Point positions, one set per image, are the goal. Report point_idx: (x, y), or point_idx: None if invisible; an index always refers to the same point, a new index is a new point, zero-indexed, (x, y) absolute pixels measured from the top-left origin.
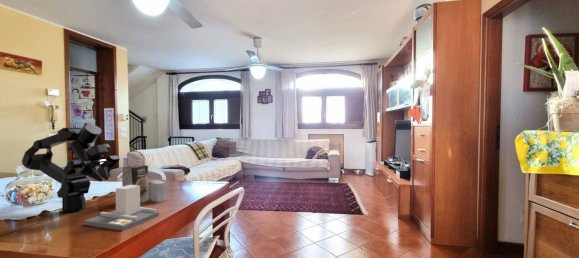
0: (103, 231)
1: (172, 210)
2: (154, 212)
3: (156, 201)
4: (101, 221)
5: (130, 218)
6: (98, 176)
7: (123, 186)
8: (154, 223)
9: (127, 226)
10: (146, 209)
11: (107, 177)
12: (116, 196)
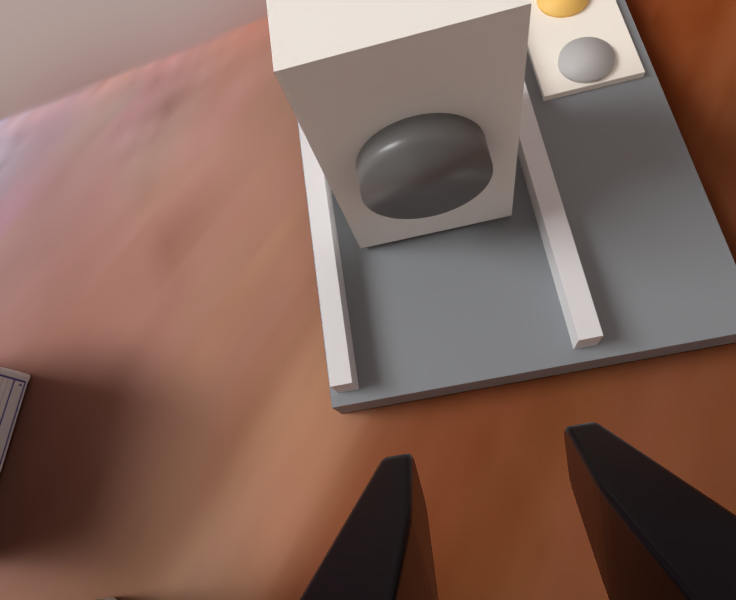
0: (690, 67)
1: (169, 91)
2: None
3: (18, 402)
4: (661, 170)
5: None
6: (696, 500)
7: (398, 31)
8: None
9: None
10: None
11: (404, 469)
12: (520, 84)
